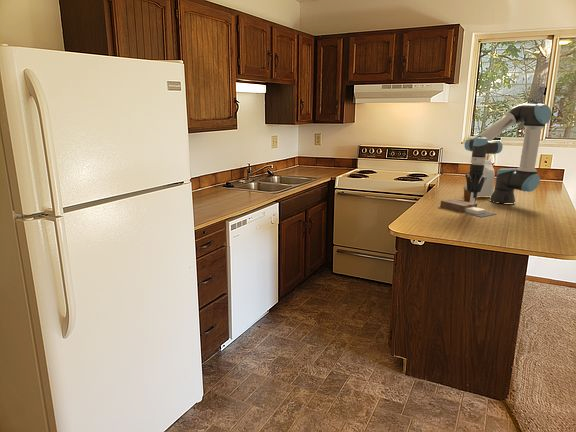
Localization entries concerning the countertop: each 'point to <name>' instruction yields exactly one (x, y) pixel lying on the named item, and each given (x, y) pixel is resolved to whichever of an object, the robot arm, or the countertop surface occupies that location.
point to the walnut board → (457, 205)
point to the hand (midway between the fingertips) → (472, 202)
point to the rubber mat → (481, 214)
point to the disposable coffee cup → (466, 194)
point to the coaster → (475, 210)
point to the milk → (487, 179)
